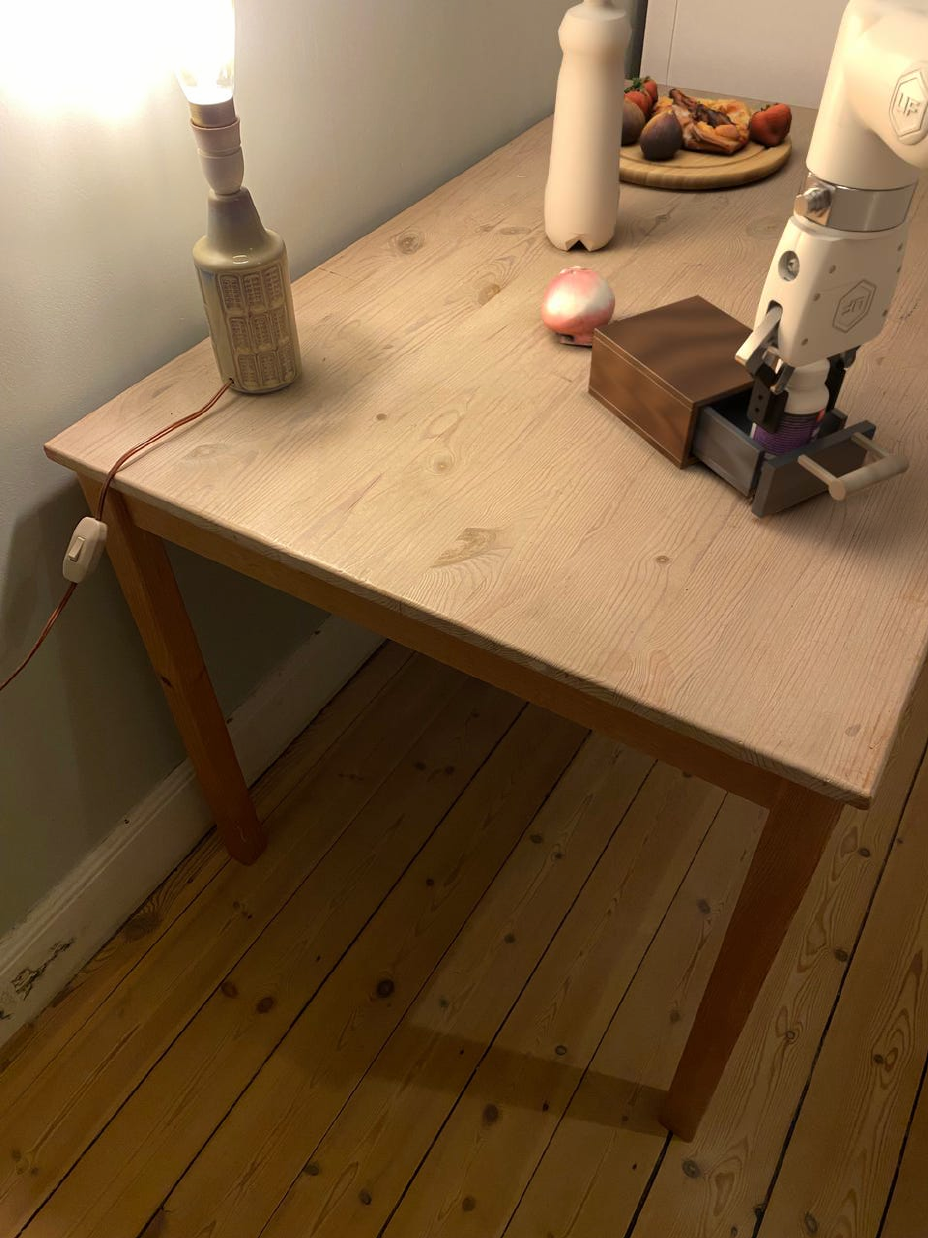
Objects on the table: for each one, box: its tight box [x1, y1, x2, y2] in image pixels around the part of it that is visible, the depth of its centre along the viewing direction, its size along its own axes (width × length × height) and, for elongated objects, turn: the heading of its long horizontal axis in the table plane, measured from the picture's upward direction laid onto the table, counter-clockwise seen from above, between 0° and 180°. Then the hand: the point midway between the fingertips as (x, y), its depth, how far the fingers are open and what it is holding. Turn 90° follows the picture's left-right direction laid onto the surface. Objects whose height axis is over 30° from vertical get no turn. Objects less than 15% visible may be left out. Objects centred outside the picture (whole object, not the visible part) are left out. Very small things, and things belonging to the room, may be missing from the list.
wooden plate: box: [619, 75, 793, 190], centre depth 132 cm, size 32×32×8 cm
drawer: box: [690, 387, 910, 520], centre depth 79 cm, size 19×11×6 cm, turn 30°
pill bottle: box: [750, 358, 830, 472], centre depth 77 cm, size 5×5×10 cm
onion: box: [540, 265, 618, 347], centre depth 97 cm, size 8×8×7 cm
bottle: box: [543, 0, 633, 252], centre depth 104 cm, size 9×9×30 cm
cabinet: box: [587, 294, 779, 470], centre depth 87 cm, size 15×13×7 cm
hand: (790, 412), depth 77 cm, fingers closed on pill bottle, 5 cm apart
